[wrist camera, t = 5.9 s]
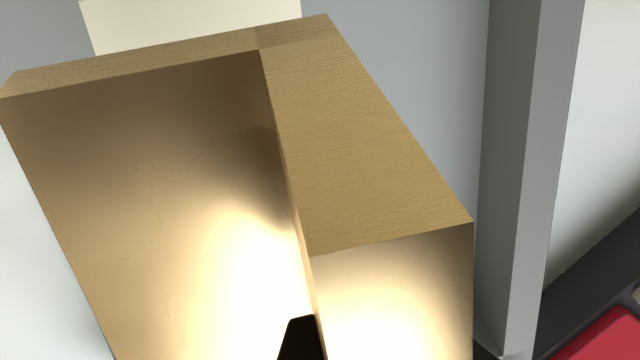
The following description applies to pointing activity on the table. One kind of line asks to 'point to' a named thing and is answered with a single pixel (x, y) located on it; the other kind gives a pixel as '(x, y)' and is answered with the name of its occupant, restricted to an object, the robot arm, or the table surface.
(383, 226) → the bracket
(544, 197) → the arena
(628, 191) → the table surface
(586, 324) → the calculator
